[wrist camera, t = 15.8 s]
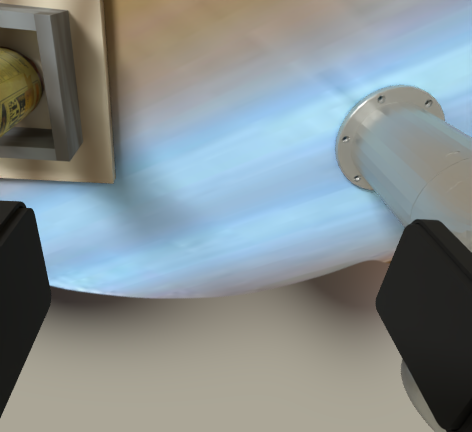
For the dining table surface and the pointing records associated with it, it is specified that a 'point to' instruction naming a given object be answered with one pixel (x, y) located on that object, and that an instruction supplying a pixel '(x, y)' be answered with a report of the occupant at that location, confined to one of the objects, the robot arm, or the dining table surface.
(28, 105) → the sauce bottle
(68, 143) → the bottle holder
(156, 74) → the dining table surface
